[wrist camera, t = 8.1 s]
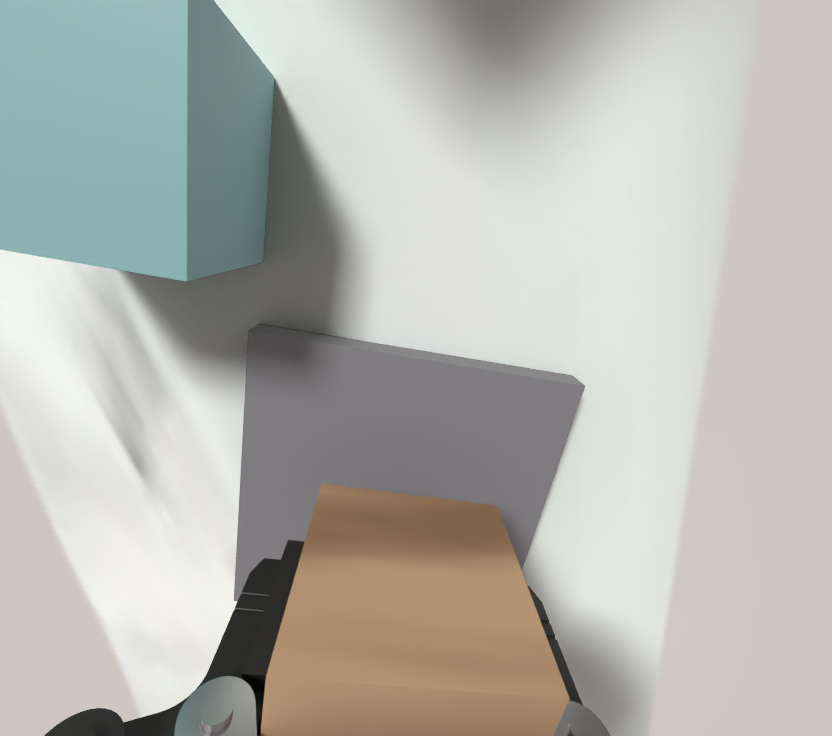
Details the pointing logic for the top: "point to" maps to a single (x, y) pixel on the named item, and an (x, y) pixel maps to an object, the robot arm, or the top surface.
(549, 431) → the mat
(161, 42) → the teal block
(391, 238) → the top surface
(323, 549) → the tan block
